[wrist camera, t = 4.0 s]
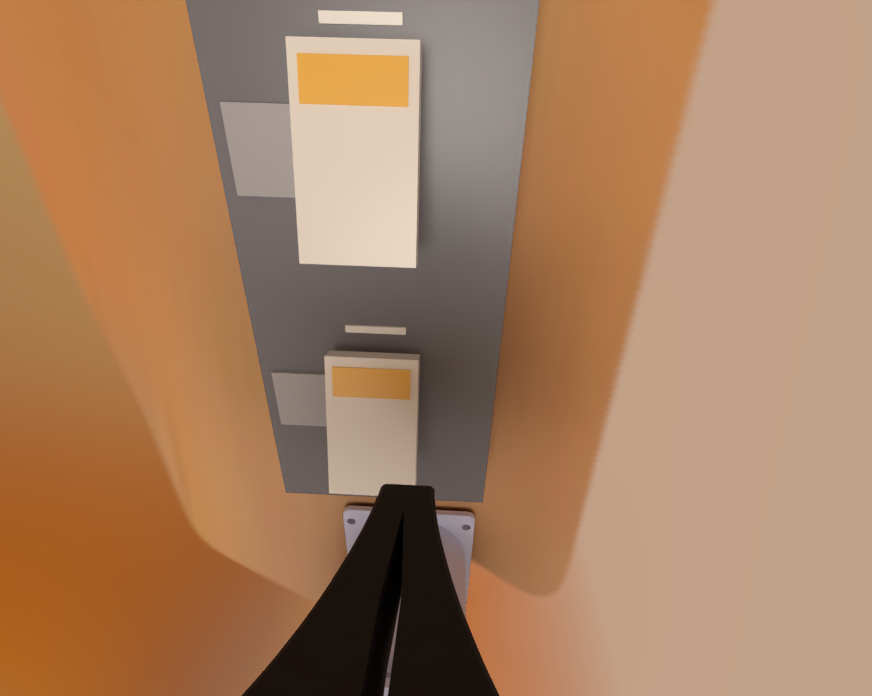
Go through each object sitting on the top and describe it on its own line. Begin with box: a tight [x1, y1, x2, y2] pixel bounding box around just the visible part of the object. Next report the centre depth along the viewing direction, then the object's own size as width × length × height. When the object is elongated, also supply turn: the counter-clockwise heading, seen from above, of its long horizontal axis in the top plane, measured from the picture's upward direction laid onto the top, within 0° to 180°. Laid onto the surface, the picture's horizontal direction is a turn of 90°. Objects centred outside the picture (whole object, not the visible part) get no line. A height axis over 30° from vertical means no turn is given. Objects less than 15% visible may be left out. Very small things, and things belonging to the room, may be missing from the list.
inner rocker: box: [324, 350, 420, 496], centre depth 18 cm, size 6×4×1 cm, turn 179°
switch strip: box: [186, 0, 539, 503], centre depth 18 cm, size 22×10×3 cm, turn 179°
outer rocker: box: [285, 36, 422, 268], centre depth 13 cm, size 6×4×1 cm, turn 179°
